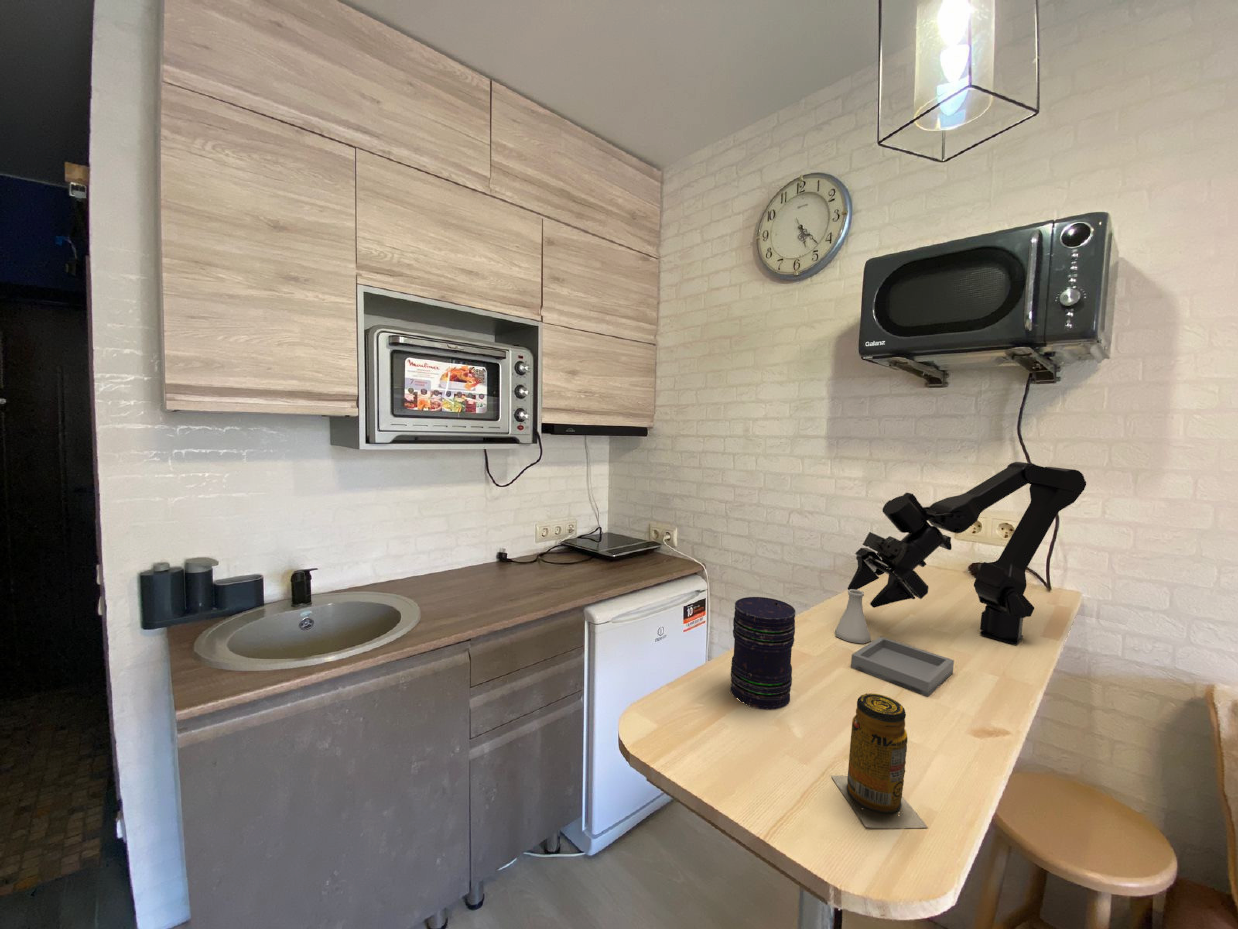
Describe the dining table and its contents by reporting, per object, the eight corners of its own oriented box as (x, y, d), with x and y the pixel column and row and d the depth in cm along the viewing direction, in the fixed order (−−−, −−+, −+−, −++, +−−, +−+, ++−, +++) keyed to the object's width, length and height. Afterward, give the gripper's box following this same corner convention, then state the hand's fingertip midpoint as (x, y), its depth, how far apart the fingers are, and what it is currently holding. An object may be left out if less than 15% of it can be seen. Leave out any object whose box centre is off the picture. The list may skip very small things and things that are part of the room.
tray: (952, 673, 95) (953, 660, 95) (927, 697, 86) (929, 682, 86) (879, 648, 105) (880, 636, 104) (850, 667, 96) (851, 654, 96)
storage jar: (762, 717, 79) (767, 623, 78) (717, 688, 87) (721, 603, 86) (803, 699, 85) (809, 611, 83) (757, 673, 93) (762, 593, 92)
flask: (867, 647, 105) (870, 600, 104) (830, 638, 109) (833, 592, 108) (874, 636, 111) (878, 591, 110) (839, 627, 115) (842, 583, 114)
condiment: (885, 776, 67) (892, 688, 66) (928, 829, 58) (937, 729, 57) (830, 777, 66) (837, 688, 65) (865, 830, 58) (873, 729, 57)
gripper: (867, 512, 117) (816, 558, 118) (919, 530, 99) (858, 585, 99) (897, 547, 118) (847, 592, 119) (954, 571, 100) (894, 625, 100)
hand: (859, 597), depth 109 cm, fingers open, 9 cm apart
